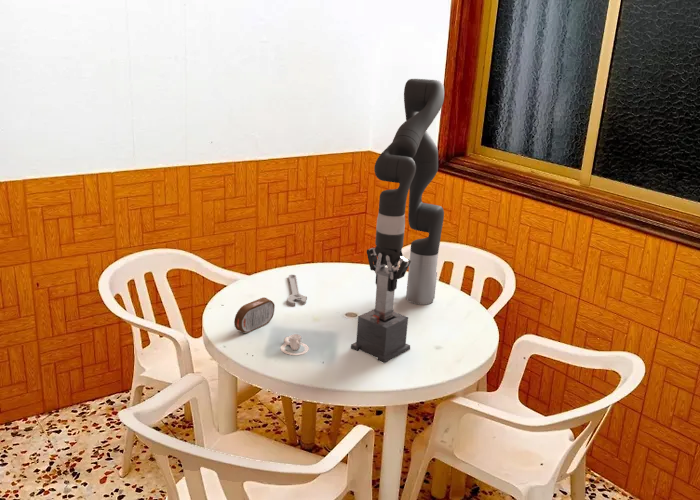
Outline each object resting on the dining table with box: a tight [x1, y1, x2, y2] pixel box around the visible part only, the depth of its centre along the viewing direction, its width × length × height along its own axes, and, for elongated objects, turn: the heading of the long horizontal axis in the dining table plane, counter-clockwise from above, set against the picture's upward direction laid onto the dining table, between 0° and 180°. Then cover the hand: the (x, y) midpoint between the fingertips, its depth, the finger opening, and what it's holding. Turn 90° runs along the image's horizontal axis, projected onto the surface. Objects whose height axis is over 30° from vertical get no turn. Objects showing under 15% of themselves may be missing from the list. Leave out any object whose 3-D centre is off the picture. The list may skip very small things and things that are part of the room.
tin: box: [233, 297, 276, 334], centre depth 197 cm, size 15×3×8 cm, turn 144°
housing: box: [350, 308, 411, 364], centre depth 189 cm, size 12×12×11 cm
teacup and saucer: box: [280, 333, 310, 356], centre depth 188 cm, size 9×8×4 cm
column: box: [374, 266, 396, 322], centre depth 186 cm, size 4×4×19 cm
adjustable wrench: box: [286, 274, 308, 307], centre depth 227 cm, size 25×6×2 cm, turn 4°
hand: (385, 288), depth 185 cm, fingers closed on column, 3 cm apart
